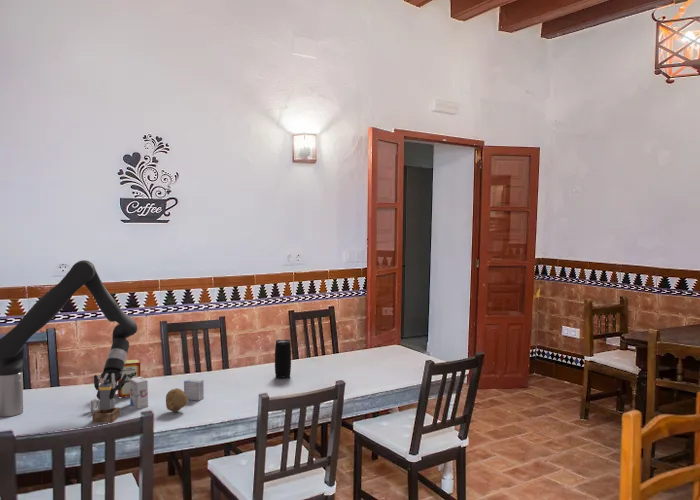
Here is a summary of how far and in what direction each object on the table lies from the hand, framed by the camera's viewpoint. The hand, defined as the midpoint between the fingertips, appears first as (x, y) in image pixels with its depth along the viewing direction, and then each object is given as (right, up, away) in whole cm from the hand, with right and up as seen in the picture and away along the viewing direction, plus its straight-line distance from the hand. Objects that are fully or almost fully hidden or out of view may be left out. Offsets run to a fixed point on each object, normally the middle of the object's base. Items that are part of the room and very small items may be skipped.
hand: (104, 398), depth 223 cm
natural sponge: (+25, -9, +12) cm, 30 cm away
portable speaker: (+64, -8, +69) cm, 94 cm away
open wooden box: (0, -9, +2) cm, 9 cm away
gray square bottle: (0, -4, +2) cm, 5 cm away
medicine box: (+28, -9, +30) cm, 42 cm away
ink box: (+6, -9, +20) cm, 23 cm away
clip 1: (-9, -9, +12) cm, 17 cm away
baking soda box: (-5, -8, +36) cm, 37 cm away
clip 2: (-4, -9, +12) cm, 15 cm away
